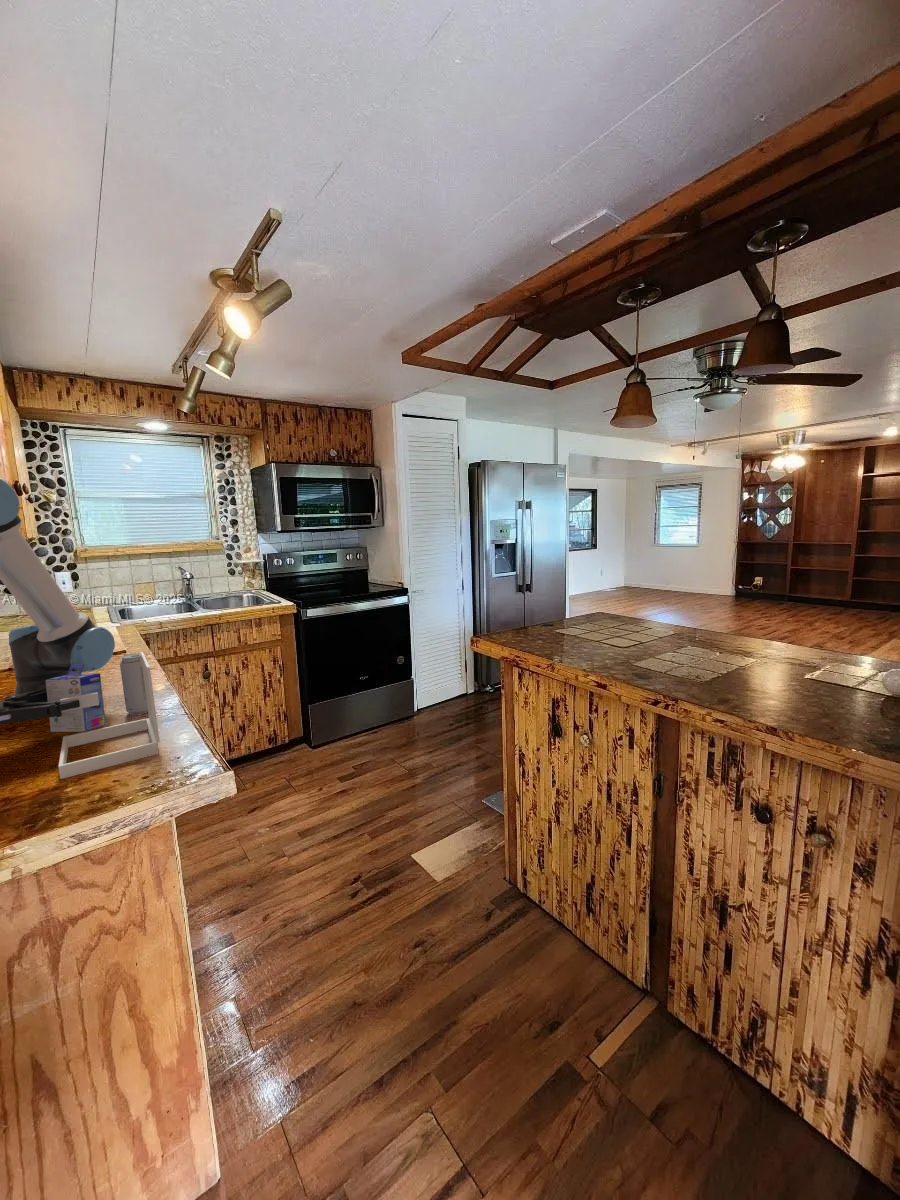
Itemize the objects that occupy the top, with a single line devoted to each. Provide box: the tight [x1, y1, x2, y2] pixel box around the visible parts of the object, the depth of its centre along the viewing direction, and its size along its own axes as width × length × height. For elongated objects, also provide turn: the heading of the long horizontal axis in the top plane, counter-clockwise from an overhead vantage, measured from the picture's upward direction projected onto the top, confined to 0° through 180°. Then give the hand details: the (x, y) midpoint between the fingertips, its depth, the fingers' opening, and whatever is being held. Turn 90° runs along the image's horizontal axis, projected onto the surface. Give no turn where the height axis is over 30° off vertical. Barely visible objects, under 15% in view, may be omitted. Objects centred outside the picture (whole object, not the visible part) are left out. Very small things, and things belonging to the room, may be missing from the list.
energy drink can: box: [119, 653, 149, 716], centre depth 126 cm, size 6×6×15 cm
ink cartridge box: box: [46, 664, 106, 733], centre depth 111 cm, size 10×6×14 cm, turn 79°
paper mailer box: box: [58, 651, 160, 780], centre depth 103 cm, size 18×16×18 cm
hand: (98, 692), depth 113 cm, fingers open, 11 cm apart
